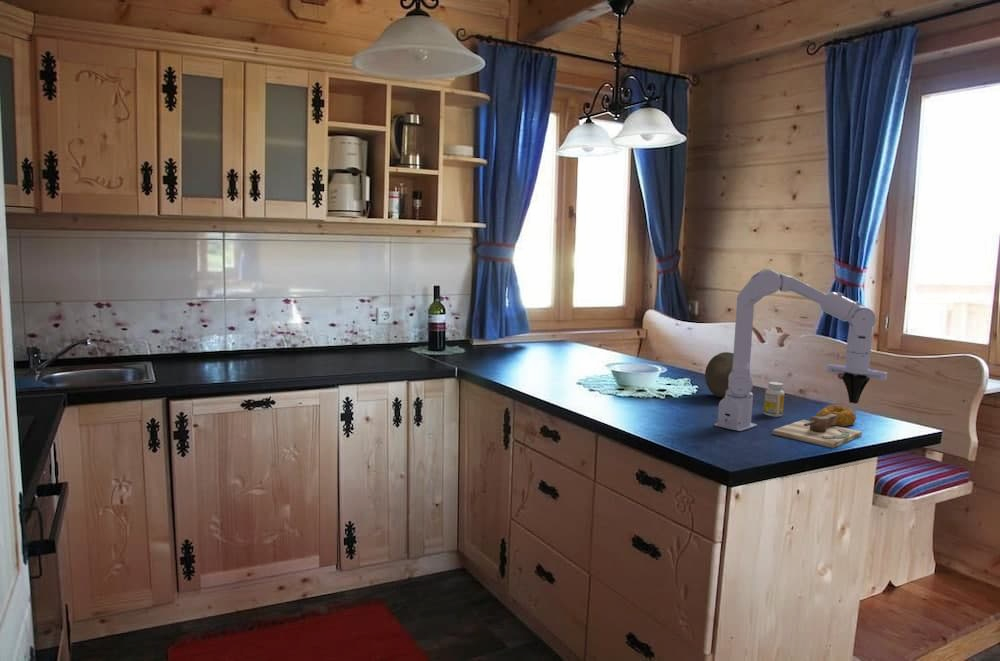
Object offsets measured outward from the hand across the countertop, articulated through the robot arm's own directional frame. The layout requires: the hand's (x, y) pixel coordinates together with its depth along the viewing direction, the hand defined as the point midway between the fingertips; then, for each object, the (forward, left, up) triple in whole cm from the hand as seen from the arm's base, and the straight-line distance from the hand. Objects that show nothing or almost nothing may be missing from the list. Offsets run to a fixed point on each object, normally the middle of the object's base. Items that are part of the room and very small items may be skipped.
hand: (853, 402), depth 190 cm
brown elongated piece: (-4, +7, -8) cm, 11 cm away
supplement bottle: (+6, +25, -10) cm, 28 cm away
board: (-6, +7, -9) cm, 13 cm away
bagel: (+13, +10, -10) cm, 19 cm away
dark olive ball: (+16, +46, -10) cm, 49 cm away
